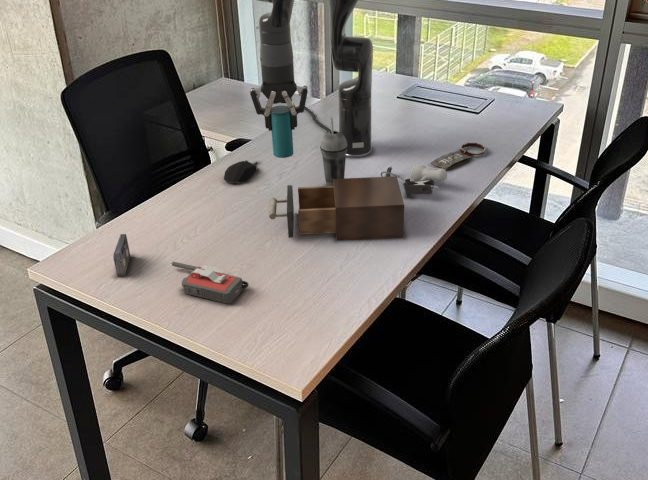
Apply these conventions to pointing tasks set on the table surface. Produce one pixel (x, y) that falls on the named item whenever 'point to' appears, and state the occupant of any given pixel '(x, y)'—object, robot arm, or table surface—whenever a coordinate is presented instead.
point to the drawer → (309, 210)
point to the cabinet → (368, 208)
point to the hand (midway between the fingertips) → (281, 128)
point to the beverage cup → (333, 155)
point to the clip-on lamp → (421, 179)
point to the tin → (281, 131)
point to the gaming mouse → (239, 172)
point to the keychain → (458, 156)
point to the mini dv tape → (121, 255)
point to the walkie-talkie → (211, 283)
